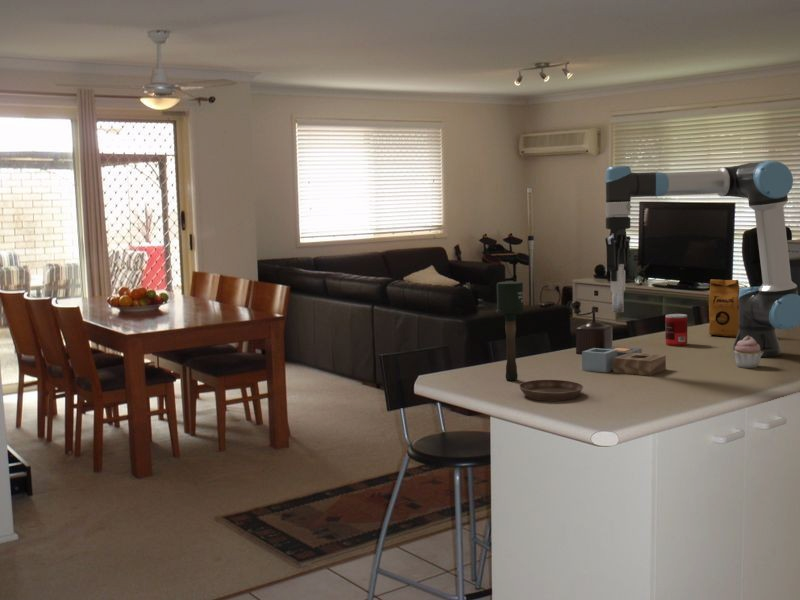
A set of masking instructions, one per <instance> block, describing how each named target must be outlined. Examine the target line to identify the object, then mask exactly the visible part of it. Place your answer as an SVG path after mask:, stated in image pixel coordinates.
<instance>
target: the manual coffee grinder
mask: <svg viewBox="0 0 800 600" xmlns="http://www.w3.org/2000/svg"><path fill="white" fill-rule="evenodd" d="M581 306H582V303H581V301H579V300H574V301H572V302H570V308H571V309H572V310H573V314H575V316H576V317H582V316H587V315H591V314H592V320H590V321H587V322H586V323H585V324H583V325H582V324H581V325H580V326H578V327H576V328H575V353H576V354H577V355H582V351H586V350H589V349H592V348H600V349H607V348H610V347H613V325H610V324H605V323H602V322H601V321H599V319H596V312H597V310H596V306H592V307H591V311H588V312H582V310H581V309H580V308H581Z"/></svg>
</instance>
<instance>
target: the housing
mask: <svg viewBox="0 0 800 600" xmlns="http://www.w3.org/2000/svg"><path fill="white" fill-rule="evenodd" d="M615 348H627V349H631V350H629V351H626V352H625V351H617V357H618V356H621V355H624V354H627V353H643V351H642V350H643V349H642V348H640V347H639V348H638V347H625V346H613V345H612V347H610V348H607V349H615Z"/></svg>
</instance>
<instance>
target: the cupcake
mask: <svg viewBox="0 0 800 600" xmlns="http://www.w3.org/2000/svg"><path fill="white" fill-rule="evenodd" d="M731 352H732V355H733V356H734V359H735V365H736V367H738V368H742V369H757V368H759V366H760V362H761V358H762V357H761V356H762V354H763V352H762V351H760V346H759V344H758V343H757V342H756V341H755V340H754V339H753V338H752V337H750V336H746V337H745V338H744V339H743V340H740V341H738V342H737V345H736V346H735V350H734V351H733V350H732V351H731Z"/></svg>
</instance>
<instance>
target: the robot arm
mask: <svg viewBox="0 0 800 600" xmlns="http://www.w3.org/2000/svg"><path fill="white" fill-rule="evenodd" d="M604 183H605V216H607V217H606V218H605V229H606V230H610V231H609V237H605V238H604V239H605V244H606V270H607V272H610V292H611V293H612V292H620V271H618V266H619V264H624V292H626V270H629V266H630V265H629V264H630V262H629V261H630V242H631V236H629V235H628V236H627V230H630V228H631V217H630V215H631V209H632V205H631V198H645V197H646V198H647V197H648V198H649V197H655V198H657V197H662V196H663V197H665V196H668V197H669V196H689V195H691V196H692V195H716V194H717V195H718V196H719V197H723V198H724V197H731V198H732V197H733V198H734V197H735V198H743V199H747V200H748V206H749V208H751V209H752V210H753V212H754V217H755V226H756V234H757V245H758V251H759V252H758V253H759V261H760V269H761V280H762V284H761V285H760V286H748V287H741V288H739V297H738V300H739V331H738V334H737V337H735V341H734V343H733V347H732V351H734V350H735V346H736V345H737V342H738V341H740V340H743V339H744V338H745V337H746V336H750V337H752V338H753V339H754V340H755V341H756V342H757V343H758V344H759V346H760V351H762V352H763V354H762V356H761V358H769V357H778V356H781V354H782V353H781V352H782V351H781V350H782V348H781V345H780V342H779V339H778V336H777V333H776V330H791V329H795V328H797V327H798V326H800V295H799V289H798V285H797V284H796V283H795V282H794V281H792V275H791V265H790V256H789V248H788V236H787V227H786V218H785V211H784V207H785V205H786V204H787V203H788V201H789V197H788V196H789V195H788V194H789V193H790V191H791V189H792V187H793V185H794V178H793V174H792V172H791V170H790V168H789V167H788V166H787V165H786V164H784V163H782V162H780V161H777V160H764V161H758V162H748V163H744V164H740V165H735V166H734V165H733V166H728V167H727V166H725V167H720V168H719V169H717V170H705V171H703V170H702V171H679V172H678V171H677V172H661V171H660V172H659V171H653V172H652V171H649V172H648V171H647V172H632V169H631V167H630V166H629V165H626V166H625V165H619V166H616V165H615V166H608V167H607V169H606V171H605V182H604Z"/></svg>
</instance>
